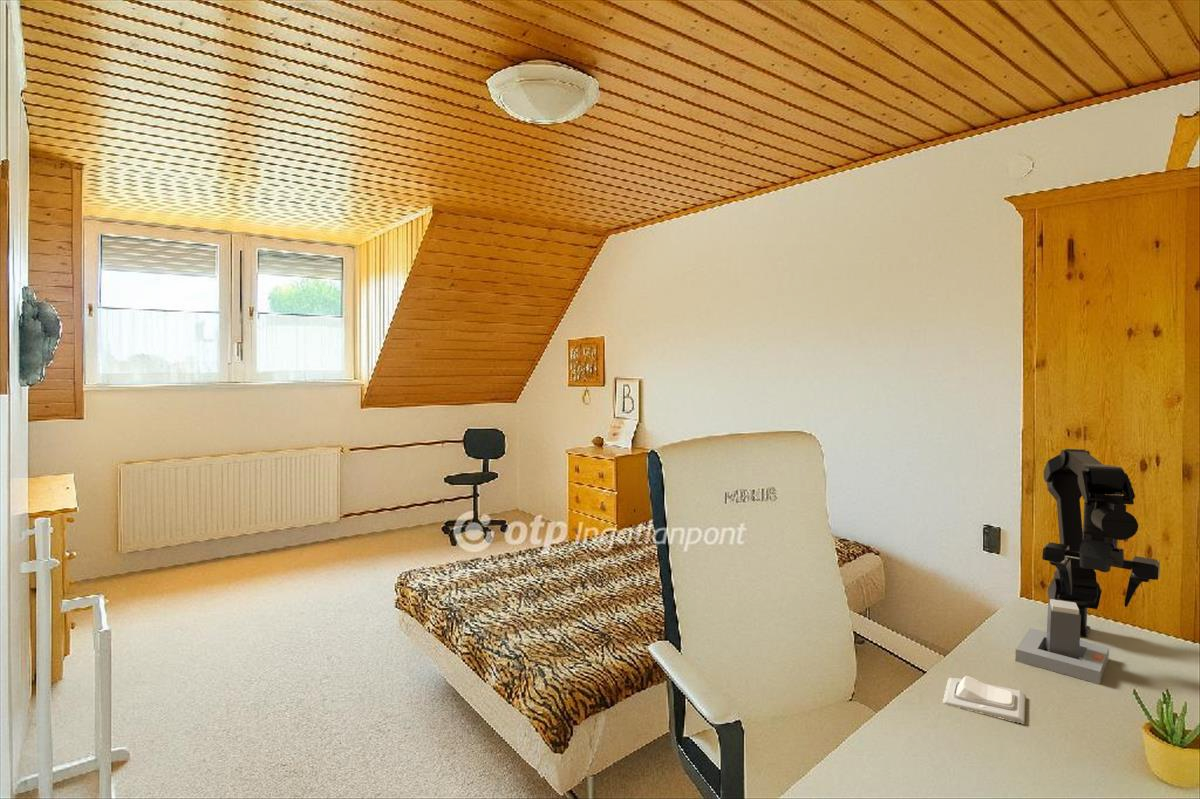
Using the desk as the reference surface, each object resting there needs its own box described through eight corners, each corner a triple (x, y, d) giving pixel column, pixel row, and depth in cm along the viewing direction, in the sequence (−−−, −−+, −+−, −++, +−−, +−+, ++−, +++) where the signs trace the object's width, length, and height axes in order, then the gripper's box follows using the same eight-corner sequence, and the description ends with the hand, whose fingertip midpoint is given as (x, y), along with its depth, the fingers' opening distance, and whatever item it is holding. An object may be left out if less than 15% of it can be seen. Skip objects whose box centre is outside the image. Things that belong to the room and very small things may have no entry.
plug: (1046, 652, 137) (1048, 598, 136) (1074, 657, 134) (1077, 602, 134) (1049, 662, 132) (1051, 606, 132) (1078, 667, 130) (1081, 610, 129)
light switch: (947, 664, 126) (1024, 678, 119) (948, 684, 127) (1025, 700, 119) (940, 688, 118) (1023, 705, 110) (941, 710, 118) (1024, 728, 110)
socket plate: (1029, 638, 143) (1029, 626, 143) (1108, 658, 134) (1109, 646, 133) (1015, 660, 133) (1015, 647, 133) (1099, 684, 124) (1100, 670, 123)
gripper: (1038, 526, 131) (1035, 599, 133) (1158, 544, 118) (1154, 625, 120) (1048, 516, 139) (1046, 585, 141) (1161, 531, 126) (1158, 608, 128)
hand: (1097, 600), depth 132 cm, fingers open, 9 cm apart
